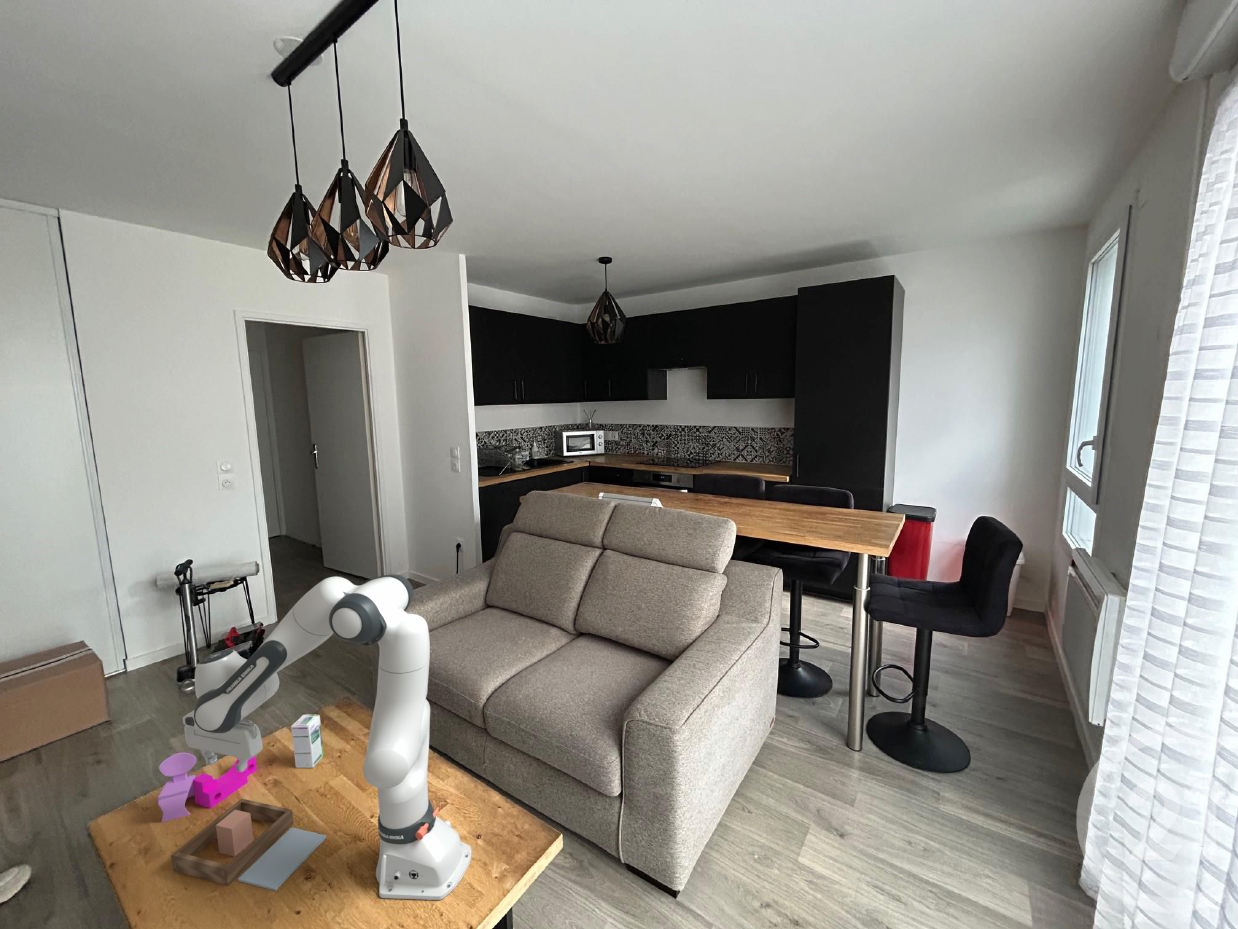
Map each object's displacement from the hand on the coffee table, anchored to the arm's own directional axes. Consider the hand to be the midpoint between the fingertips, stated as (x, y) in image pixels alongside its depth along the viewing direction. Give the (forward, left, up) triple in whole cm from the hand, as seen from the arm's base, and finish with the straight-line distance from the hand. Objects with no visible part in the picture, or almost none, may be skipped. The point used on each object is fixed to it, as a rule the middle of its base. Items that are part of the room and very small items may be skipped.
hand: (226, 766), depth 127 cm
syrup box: (+7, -30, -23) cm, 38 cm away
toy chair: (+27, -6, -23) cm, 36 cm away
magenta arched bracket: (+21, -16, -23) cm, 35 cm away
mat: (-15, 0, -23) cm, 27 cm away
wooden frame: (0, 0, -23) cm, 23 cm away
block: (0, 0, -23) cm, 23 cm away
